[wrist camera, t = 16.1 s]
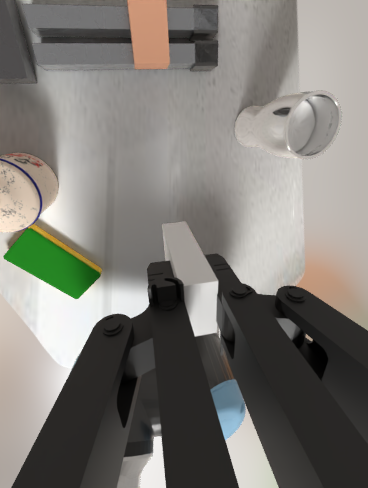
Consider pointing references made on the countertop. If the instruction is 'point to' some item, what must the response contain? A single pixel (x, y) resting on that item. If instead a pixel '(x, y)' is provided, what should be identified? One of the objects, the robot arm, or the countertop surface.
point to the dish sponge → (53, 262)
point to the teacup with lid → (24, 190)
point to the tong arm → (121, 56)
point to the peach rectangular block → (149, 33)
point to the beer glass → (291, 125)
